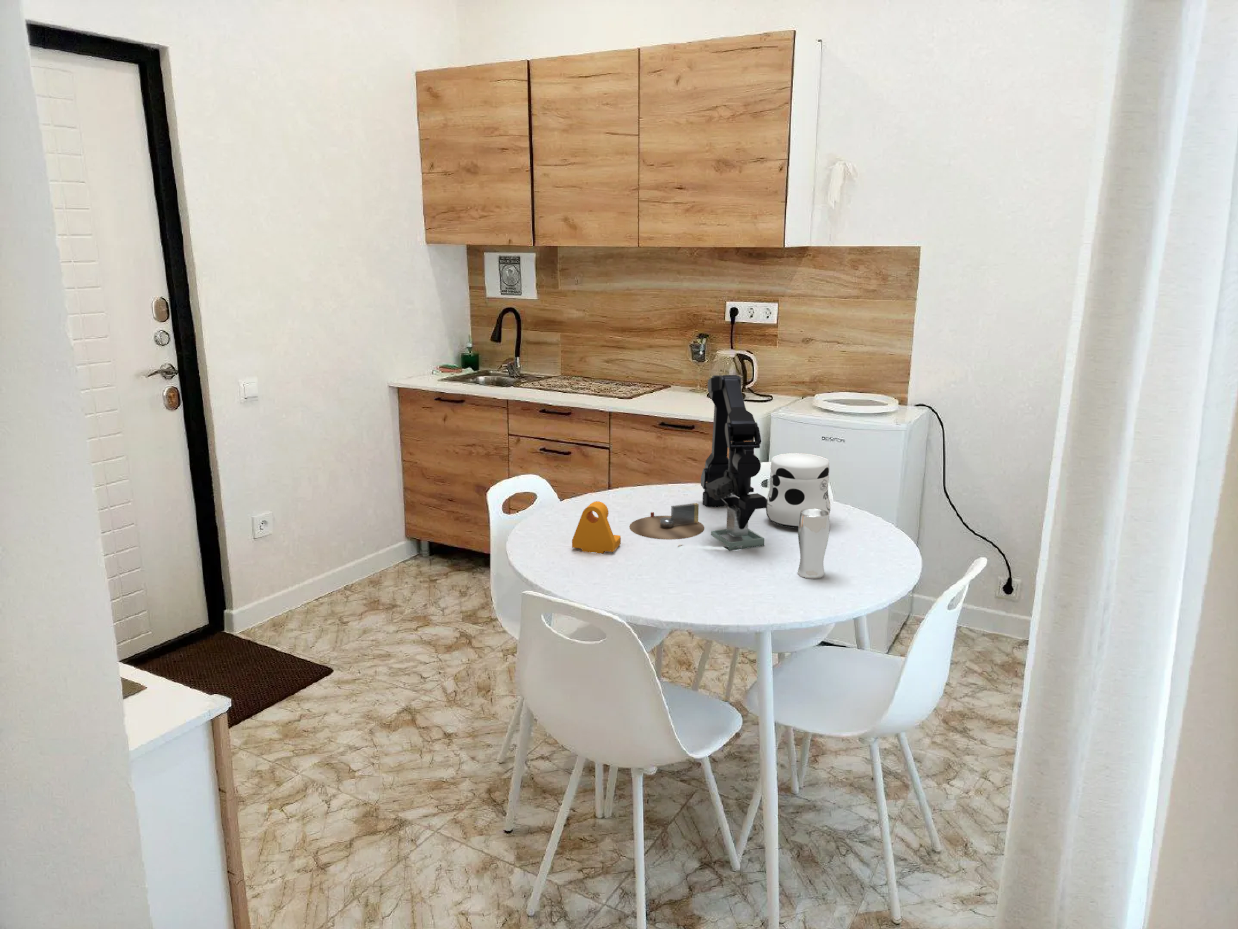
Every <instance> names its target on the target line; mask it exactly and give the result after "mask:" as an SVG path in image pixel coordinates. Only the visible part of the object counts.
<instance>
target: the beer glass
mask: <svg viewBox="0 0 1238 929" xmlns="http://www.w3.org/2000/svg"><path fill="white" fill-rule="evenodd" d="M797 537H798V538H797V539H798V548H799V557H800V558H799V560H800V561H799V565H798V570H797V574H798V576H799V577H802V578H804V577H805V579H808V578H809V580H817V579H818V578H819V579H822V578H824V577H825V574H826V573H825V565H824V560H825V554H826V549H827V547H828V542H829V539H830V538H829V537H830V514H829V512H828V511H825V510H822V509H815V508H808V509H803V510H801V511H800V517H799V525H798V528H797ZM821 577H822V578H821Z"/></svg>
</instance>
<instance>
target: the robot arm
mask: <svg viewBox="0 0 1238 929" xmlns="http://www.w3.org/2000/svg"><path fill="white" fill-rule="evenodd" d="M707 392H708V393H709V397H710V399H711V401H712V403H713V406H714V407H713V408H714V409H713V422H712V423H713V424H712V425H713V427H712V442H711V453H710V455H709V456H707V458H706V460H705V464H704V468H703V469H702V472H701V475H700V486H701V488H702V489H703V492H702V506H704V507H706V508H724V507H727V506H735V507H736V508H737V509H738V516H739V527H740V529H744V528H745V526H746V524H747V523H748V524H749V521H750V519H751V517H752V515H753V514H754V512H755V511H756V510H760V509H766V508H767V503H768V500H767V497H765V496H763V495H762V494H760V493H758V492H757V493H754V492H755V488H754V487H752V486H751V484H752V483H751V482H752V478H753V477H755V476H757V475H758V473H760V472H761V468H762V464H761V460H760V459H759V457H758V456H756V454H755V449H761V442H762V437H761V431H760V427H759V425H758V422H757V421H755V418H754V414H753V413H752V412H750V411H749V410H747V408H746V405H745V400H744V397H743V393H742V377H741V376H740V375H737V374H723V375H720V374H719V375H712V376H711V377H710V378H709V379H708V380H707Z"/></svg>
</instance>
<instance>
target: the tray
mask: <svg viewBox="0 0 1238 929" xmlns="http://www.w3.org/2000/svg"><path fill="white" fill-rule="evenodd" d="M726 531H727V528H725V529H717V530H711V531H710V536H711V537H714V539H716V540H718V541H719V542H721V543H722V544H724V546H722V547H723V548H725V549H726V550H727V551H729V552H730V551H737V550H743V549H751V548H758V547H759V548H760V547H765V539H766V538H765V537H763V536H761V535H759V534H758V533H756V532H754V531H753V530H751V529H750V528H748V535H747V536H741V540H738V541H729V540H728V539H726V538H724V536H721V535H727V534H728V533H726ZM728 535H729V534H728Z"/></svg>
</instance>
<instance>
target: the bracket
mask: <svg viewBox="0 0 1238 929" xmlns="http://www.w3.org/2000/svg"><path fill="white" fill-rule="evenodd" d="M593 512H594V513H596V515H597V516H595V515H594V513H593ZM608 517H609V508H608V506H607V505H606V504H605V502H602V501H598V500H597V501H593V502H591V503H590V504H589V505H588V506H586V507H585V509H583V511H582V513H581V515H580V518H579V521H578V524H577V526H576V528H575V532H574V534H573V537H572V540H571V548H572V549H581V552H584V553H591V552H597V553H596V554H600V553H604V554H605V553H606V552H611V553H613V552H614V553H615V551H616V550H617V549H618V548H619V546H621V543H622V542H621V541H622V538H621V535H618V534H614V533H613V530H612V528H611V525H610V522H609V520H608Z"/></svg>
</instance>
